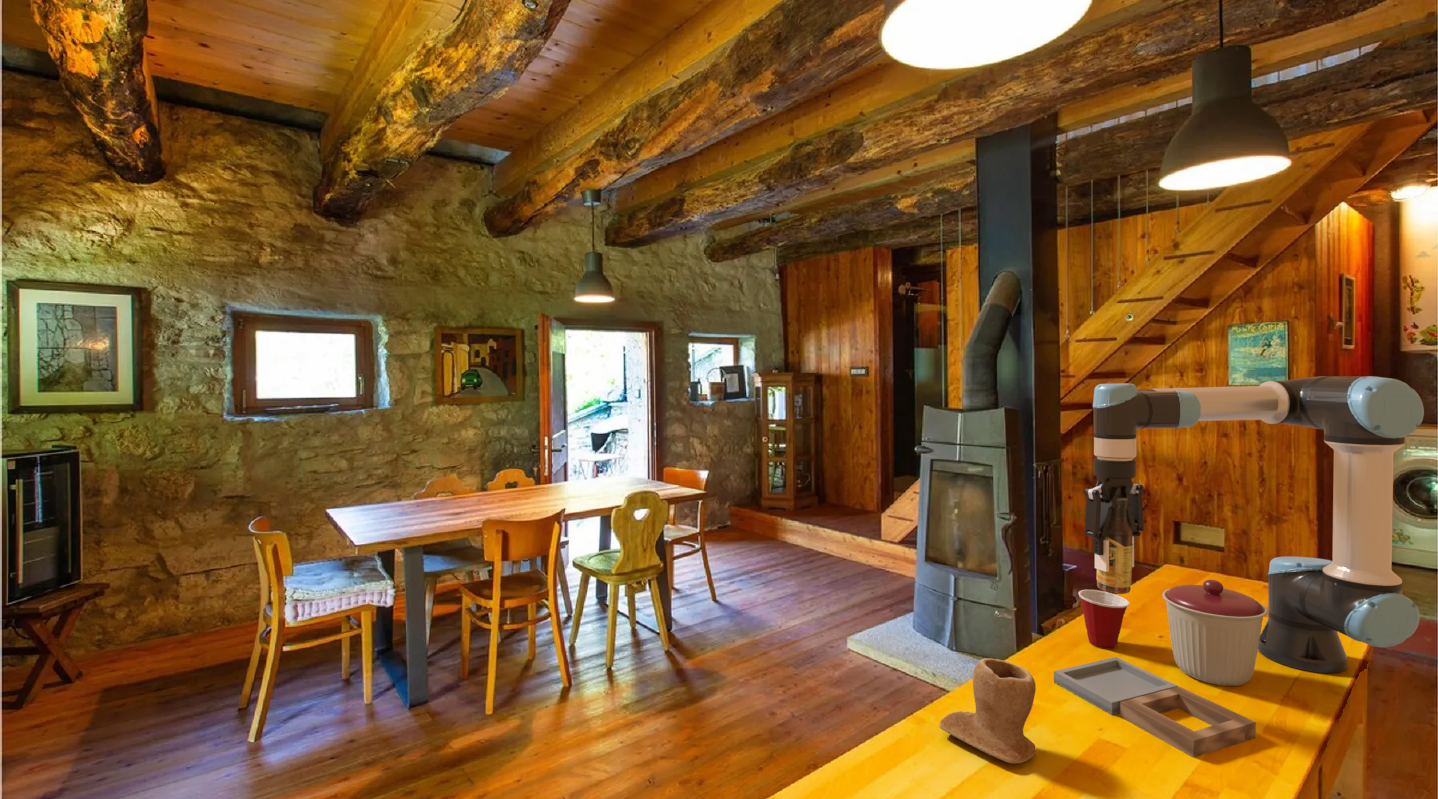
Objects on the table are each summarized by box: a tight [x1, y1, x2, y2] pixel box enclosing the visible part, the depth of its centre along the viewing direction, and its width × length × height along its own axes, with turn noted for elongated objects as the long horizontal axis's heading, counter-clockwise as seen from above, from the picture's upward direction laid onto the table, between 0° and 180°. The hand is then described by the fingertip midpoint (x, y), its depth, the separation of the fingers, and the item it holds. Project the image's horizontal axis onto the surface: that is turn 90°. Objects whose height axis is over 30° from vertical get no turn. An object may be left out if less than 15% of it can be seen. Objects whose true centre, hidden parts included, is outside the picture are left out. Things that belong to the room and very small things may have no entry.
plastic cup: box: [1078, 589, 1130, 650], centre depth 156 cm, size 11×11×12 cm
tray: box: [1053, 656, 1179, 716], centre depth 135 cm, size 18×14×2 cm
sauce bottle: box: [1096, 497, 1133, 595], centre depth 134 cm, size 7×6×20 cm
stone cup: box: [938, 657, 1037, 764], centre depth 117 cm, size 15×12×15 cm
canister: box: [1162, 579, 1268, 687], centre depth 140 cm, size 18×18×21 cm
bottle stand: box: [1119, 686, 1257, 758], centre depth 121 cm, size 16×14×3 cm
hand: (1114, 567), depth 134 cm, fingers closed on sauce bottle, 6 cm apart
